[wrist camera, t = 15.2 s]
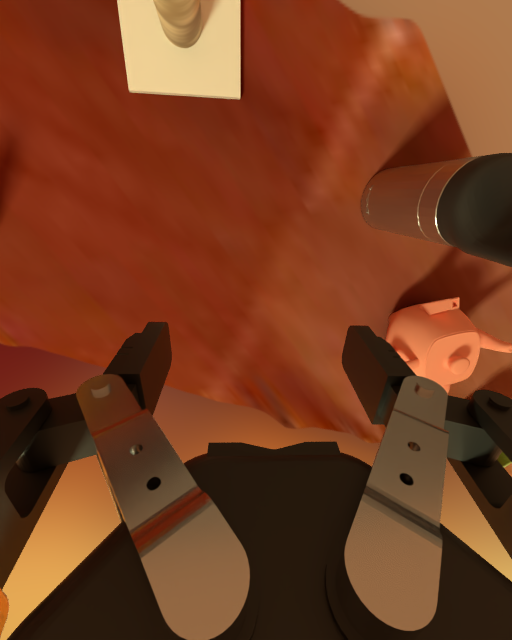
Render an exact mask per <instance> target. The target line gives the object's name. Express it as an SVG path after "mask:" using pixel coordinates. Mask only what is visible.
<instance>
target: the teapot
mask: <svg viewBox="0 0 512 640" xmlns="http://www.w3.org/2000/svg"><path fill="white" fill-rule="evenodd" d="M459 299H460V297H455V298H449V299H443V300H437V301H432V302H428V303H422V304H417V305H413V306H409V307H406V308H403V309H400V310H399V311H397V312H394V313H392V314H391V315H390V316H389V318H388V322H389V326H388V329H387V334H386V341H387V342H388V343H390V344H391V346H392V347H393V348H394V349H395V350H396V352H397V353H398V354H399V355H400V356H401V358H402V359H403V360H404V361H405V362H406V363H407V365H408V366H409V367H410V368H411V369H412V371H413V372H414V373H415V374H416V375H417V376H421V377H425V378H428V379H430V380H433V381H435V382H436V383H438V384H439V385H441V386H442V387H443V388H444V389H445V391H446V392H447V393H448V392H449V390H450V384H453V383H456V382H460V381H463V380H465V379H467V378H468V377H469V376H470V375H471V374H472V372H473V370H474V368H475V366H476V363H477V360H478V357H479V352H480V347H481V348H486V349H491V350H495V351H501V352H508V353H512V343H507V342H504V341H501V340H499V339H497V338H495V337H493V336H491V335H489V334H488V333H486V332H484V331H482V330H480V329H477V328H475V326H474V325H473V324H472V322H471V321H470V320H469V318H468V317H467V316H466V315H465V314H464V313H463V312H462V311H461V310H459V309H458V308H459Z"/></svg>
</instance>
